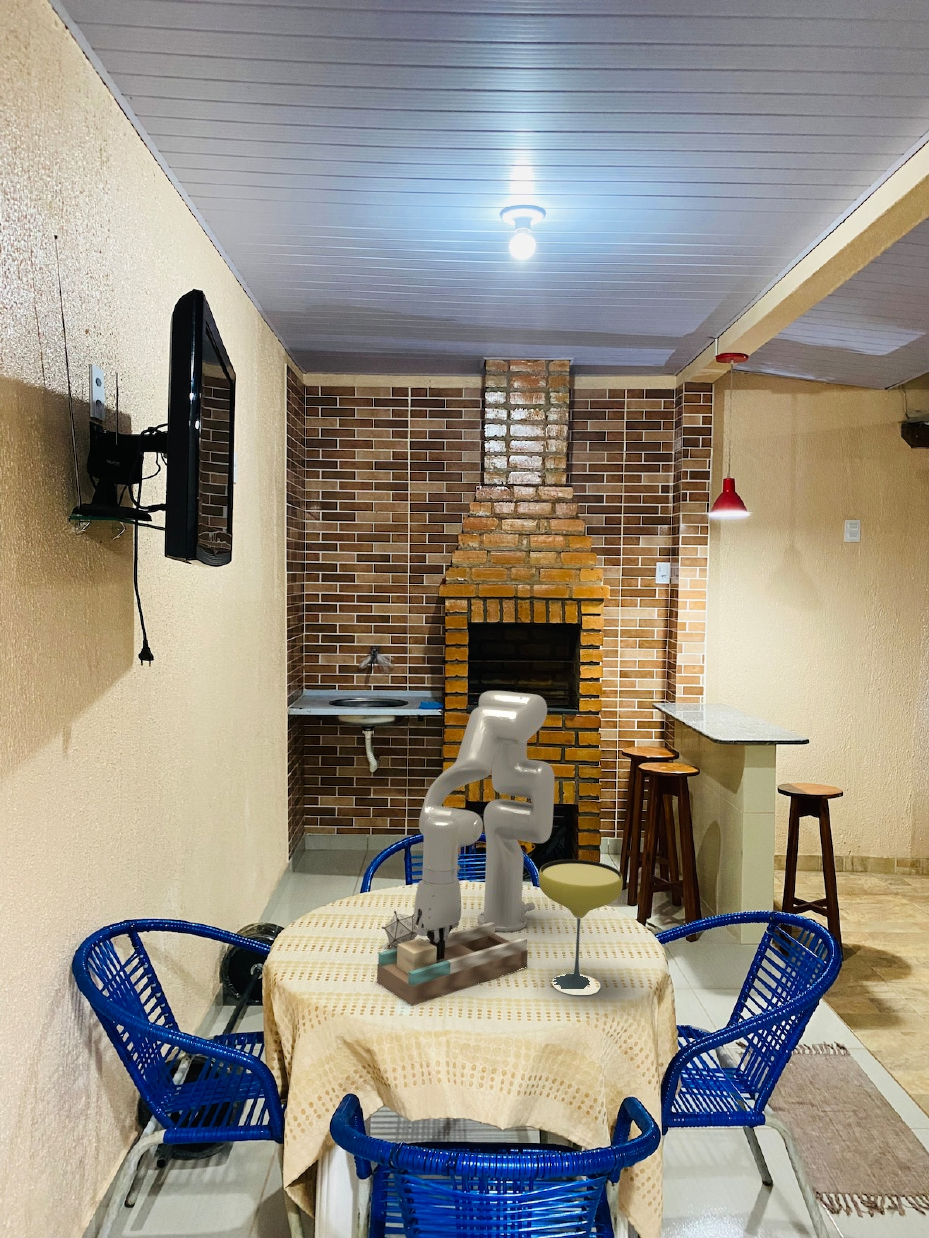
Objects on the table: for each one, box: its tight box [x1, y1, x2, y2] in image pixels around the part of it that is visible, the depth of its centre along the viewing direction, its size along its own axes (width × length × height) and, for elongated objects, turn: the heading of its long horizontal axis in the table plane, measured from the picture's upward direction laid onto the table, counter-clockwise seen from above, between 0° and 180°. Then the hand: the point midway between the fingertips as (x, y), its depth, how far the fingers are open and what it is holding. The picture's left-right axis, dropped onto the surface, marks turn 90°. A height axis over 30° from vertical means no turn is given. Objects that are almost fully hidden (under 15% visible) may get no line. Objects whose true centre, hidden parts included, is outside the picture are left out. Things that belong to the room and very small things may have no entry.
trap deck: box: [376, 922, 529, 1006], centre depth 203 cm, size 32×13×6 cm, turn 129°
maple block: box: [396, 937, 437, 974], centre depth 196 cm, size 6×6×5 cm
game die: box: [380, 910, 419, 949], centre depth 217 cm, size 9×8×10 cm
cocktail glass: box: [538, 859, 624, 989], centre depth 199 cm, size 18×18×25 cm
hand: (437, 957), depth 199 cm, fingers closed
